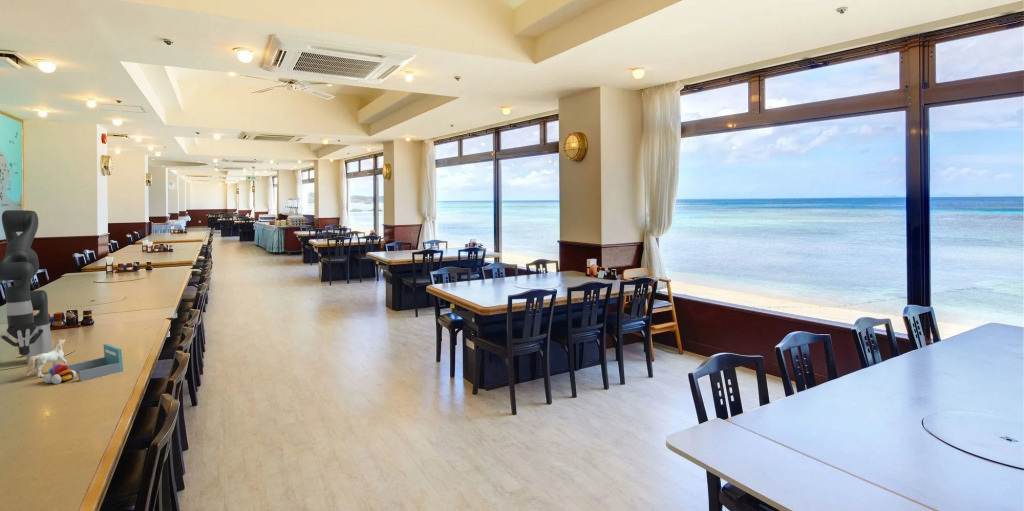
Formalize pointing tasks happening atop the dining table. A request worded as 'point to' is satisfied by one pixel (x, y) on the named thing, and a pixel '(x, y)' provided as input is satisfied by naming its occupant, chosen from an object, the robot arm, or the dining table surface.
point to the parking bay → (100, 364)
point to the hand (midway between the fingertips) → (24, 355)
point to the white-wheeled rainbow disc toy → (59, 374)
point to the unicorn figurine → (46, 359)
